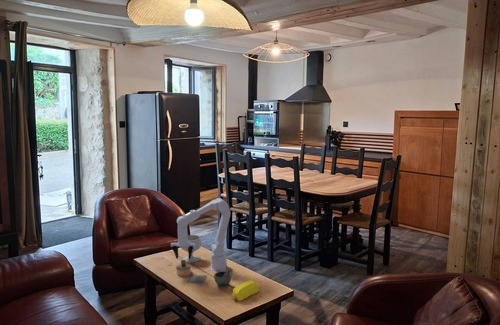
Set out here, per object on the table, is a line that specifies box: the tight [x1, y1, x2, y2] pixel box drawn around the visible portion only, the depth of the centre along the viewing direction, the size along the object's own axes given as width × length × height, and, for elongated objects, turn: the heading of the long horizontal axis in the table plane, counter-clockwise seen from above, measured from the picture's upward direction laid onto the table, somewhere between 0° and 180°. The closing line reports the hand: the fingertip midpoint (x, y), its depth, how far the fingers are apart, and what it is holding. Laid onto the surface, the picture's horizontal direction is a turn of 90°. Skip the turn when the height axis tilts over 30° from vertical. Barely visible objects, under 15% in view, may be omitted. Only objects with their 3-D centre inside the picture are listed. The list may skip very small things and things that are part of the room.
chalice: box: [180, 234, 202, 264], centre depth 250 cm, size 14×14×15 cm
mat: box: [186, 274, 208, 284], centre depth 220 cm, size 10×10×1 cm
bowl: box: [175, 267, 192, 277], centre depth 229 cm, size 8×8×4 cm
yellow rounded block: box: [232, 279, 260, 302], centre depth 201 cm, size 18×7×8 cm
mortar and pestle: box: [213, 267, 233, 289], centre depth 211 cm, size 11×9×12 cm
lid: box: [175, 259, 192, 270], centre depth 228 cm, size 9×9×4 cm
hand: (183, 258), depth 228 cm, fingers open, 7 cm apart
